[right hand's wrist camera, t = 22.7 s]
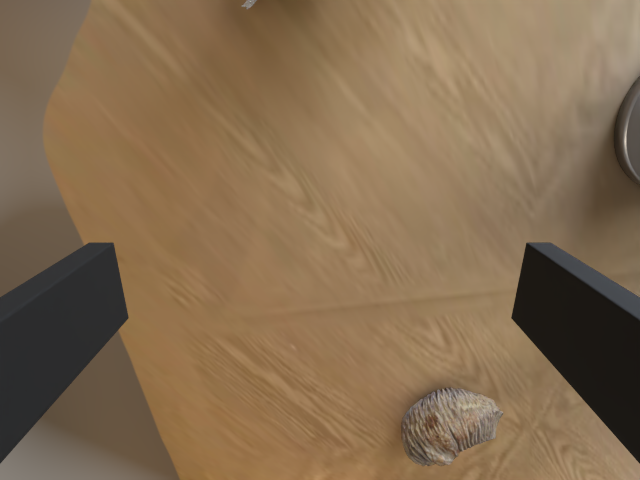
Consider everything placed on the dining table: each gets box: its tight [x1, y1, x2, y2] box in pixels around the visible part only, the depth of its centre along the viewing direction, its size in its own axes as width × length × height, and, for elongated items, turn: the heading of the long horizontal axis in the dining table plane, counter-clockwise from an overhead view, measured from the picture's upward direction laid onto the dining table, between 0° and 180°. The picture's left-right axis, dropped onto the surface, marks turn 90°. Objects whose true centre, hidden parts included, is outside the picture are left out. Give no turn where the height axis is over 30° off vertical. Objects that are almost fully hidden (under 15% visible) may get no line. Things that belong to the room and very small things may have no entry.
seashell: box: [401, 388, 503, 466], centre depth 49 cm, size 14×10×10 cm
